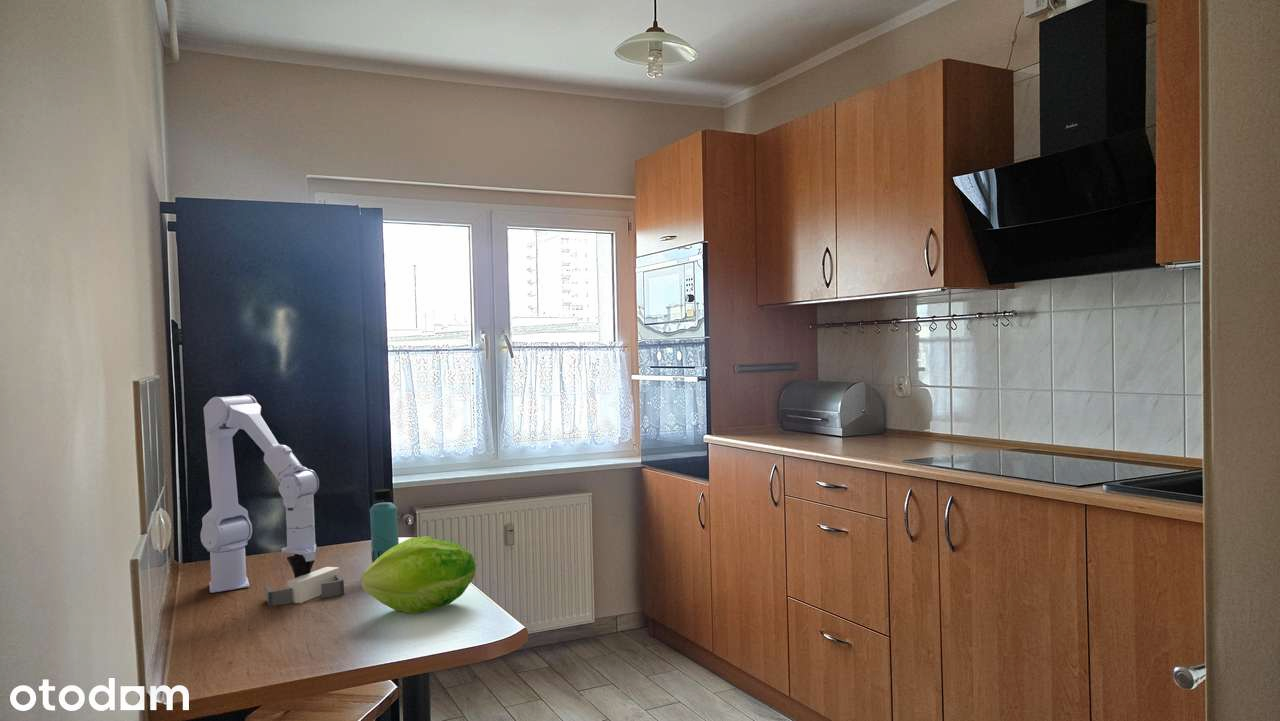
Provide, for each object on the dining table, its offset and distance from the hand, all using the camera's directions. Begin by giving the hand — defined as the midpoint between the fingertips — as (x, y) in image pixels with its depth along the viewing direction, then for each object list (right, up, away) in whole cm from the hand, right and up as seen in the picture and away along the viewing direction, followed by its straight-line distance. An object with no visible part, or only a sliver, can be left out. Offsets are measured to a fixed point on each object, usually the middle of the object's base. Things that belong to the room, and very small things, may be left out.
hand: (302, 587), depth 183 cm
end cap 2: (+6, -1, -1) cm, 6 cm away
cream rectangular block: (+3, -1, -1) cm, 3 cm away
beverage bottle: (+14, -1, +14) cm, 20 cm away
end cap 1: (-3, -1, -5) cm, 6 cm away
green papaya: (+30, 0, -15) cm, 34 cm away
